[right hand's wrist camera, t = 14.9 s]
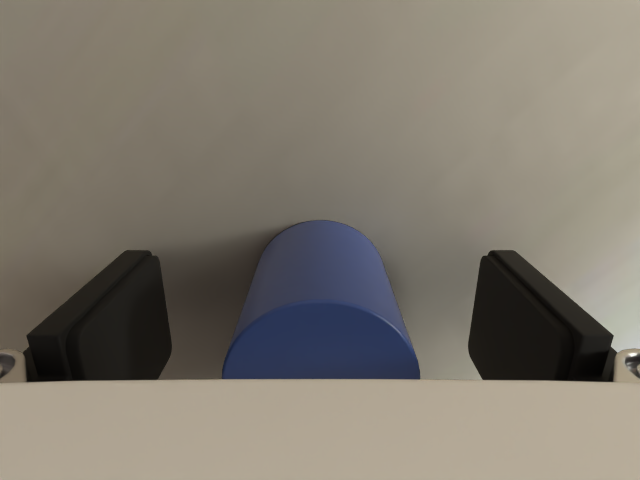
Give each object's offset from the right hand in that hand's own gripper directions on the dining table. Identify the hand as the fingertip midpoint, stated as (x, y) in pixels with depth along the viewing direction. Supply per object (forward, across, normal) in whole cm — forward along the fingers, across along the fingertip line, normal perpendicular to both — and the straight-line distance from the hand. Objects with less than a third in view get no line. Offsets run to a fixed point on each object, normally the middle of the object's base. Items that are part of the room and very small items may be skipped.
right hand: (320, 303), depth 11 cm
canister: (+1, 0, 0) cm, 1 cm away
